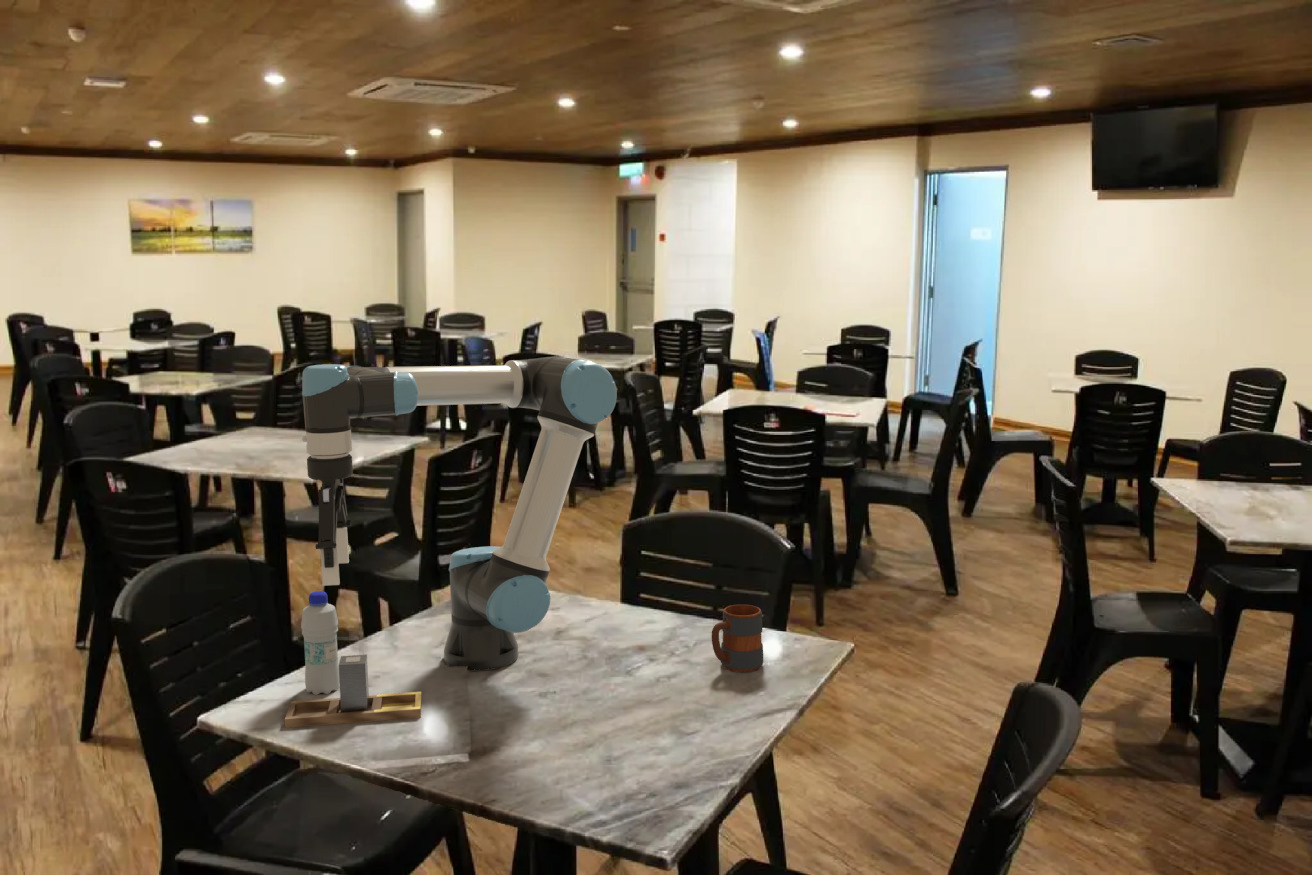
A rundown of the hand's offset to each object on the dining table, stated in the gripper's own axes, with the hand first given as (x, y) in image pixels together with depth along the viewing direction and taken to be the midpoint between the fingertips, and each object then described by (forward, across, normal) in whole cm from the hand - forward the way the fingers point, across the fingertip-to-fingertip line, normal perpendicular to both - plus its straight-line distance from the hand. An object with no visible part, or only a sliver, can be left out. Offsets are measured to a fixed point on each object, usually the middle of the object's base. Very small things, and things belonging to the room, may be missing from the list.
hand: (336, 573), depth 194 cm
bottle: (+27, -12, -5) cm, 30 cm away
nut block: (+26, +1, +2) cm, 26 cm away
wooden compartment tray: (+26, +1, +2) cm, 27 cm away
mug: (+27, -12, +75) cm, 81 cm away
